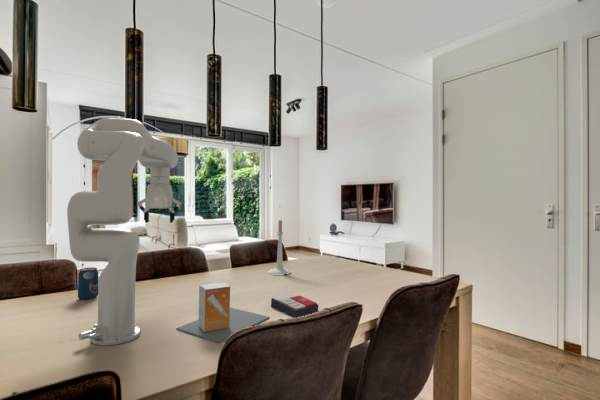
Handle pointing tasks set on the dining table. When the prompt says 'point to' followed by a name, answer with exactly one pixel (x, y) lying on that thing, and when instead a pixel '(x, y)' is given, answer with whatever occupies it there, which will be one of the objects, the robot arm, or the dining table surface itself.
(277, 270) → the candlestick
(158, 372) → the dining table surface
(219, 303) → the small box
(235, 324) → the mat
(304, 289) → the dining table surface
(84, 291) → the soda can
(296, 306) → the flat red grey box
